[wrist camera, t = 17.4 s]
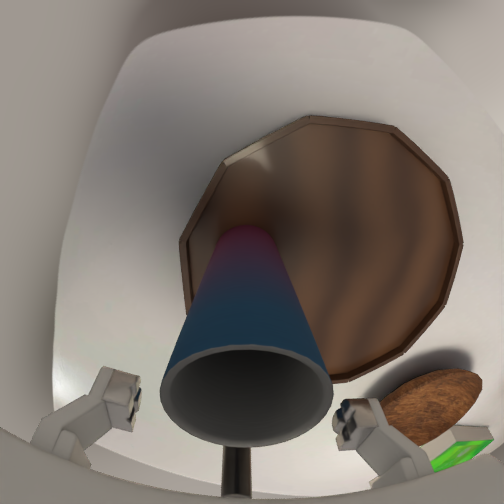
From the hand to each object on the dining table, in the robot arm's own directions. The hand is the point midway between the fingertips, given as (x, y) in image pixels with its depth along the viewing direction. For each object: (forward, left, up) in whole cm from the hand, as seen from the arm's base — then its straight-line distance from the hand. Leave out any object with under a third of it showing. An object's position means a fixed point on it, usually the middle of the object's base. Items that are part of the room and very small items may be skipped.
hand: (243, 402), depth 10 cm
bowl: (+35, +12, -18) cm, 41 cm away
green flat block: (+72, +16, -18) cm, 75 cm away
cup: (0, 0, -15) cm, 15 cm away
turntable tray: (+6, +6, -16) cm, 18 cm away
